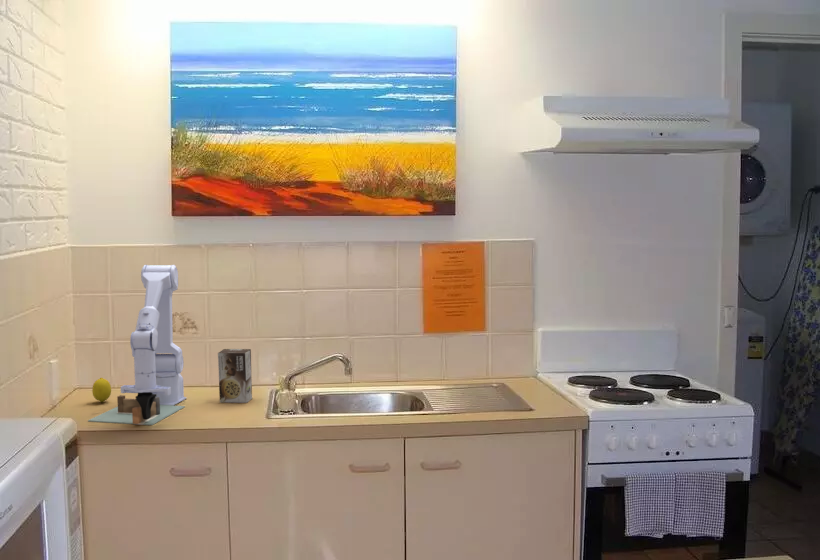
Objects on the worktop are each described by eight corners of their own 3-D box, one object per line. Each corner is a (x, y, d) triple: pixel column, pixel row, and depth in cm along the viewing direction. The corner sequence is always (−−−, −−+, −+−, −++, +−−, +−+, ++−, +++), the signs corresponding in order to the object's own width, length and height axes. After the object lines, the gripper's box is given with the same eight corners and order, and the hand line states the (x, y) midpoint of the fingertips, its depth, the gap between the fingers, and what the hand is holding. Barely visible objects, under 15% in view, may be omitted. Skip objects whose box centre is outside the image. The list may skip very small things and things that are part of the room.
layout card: (125, 403, 251) (125, 402, 251) (184, 407, 248) (184, 405, 248) (88, 421, 232) (88, 420, 232) (152, 425, 228) (151, 423, 228)
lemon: (114, 400, 256) (113, 375, 255) (108, 404, 250) (107, 379, 249) (96, 400, 256) (95, 375, 255) (90, 404, 250) (89, 379, 249)
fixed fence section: (117, 413, 240) (116, 396, 239) (121, 412, 242) (120, 395, 241) (158, 416, 237) (157, 398, 237) (161, 414, 239) (160, 397, 239)
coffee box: (252, 398, 259) (251, 348, 257) (246, 403, 252) (245, 352, 251) (225, 397, 260) (224, 348, 258) (218, 402, 253) (217, 352, 252)
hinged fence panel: (151, 413, 237) (151, 398, 237) (156, 413, 237) (156, 399, 237) (132, 423, 227) (132, 408, 226) (137, 423, 227) (137, 408, 226)
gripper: (114, 373, 226) (116, 421, 227) (162, 376, 223) (163, 423, 225) (127, 368, 233) (129, 414, 234) (173, 370, 230) (175, 416, 232)
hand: (146, 418), depth 230 cm, fingers closed
